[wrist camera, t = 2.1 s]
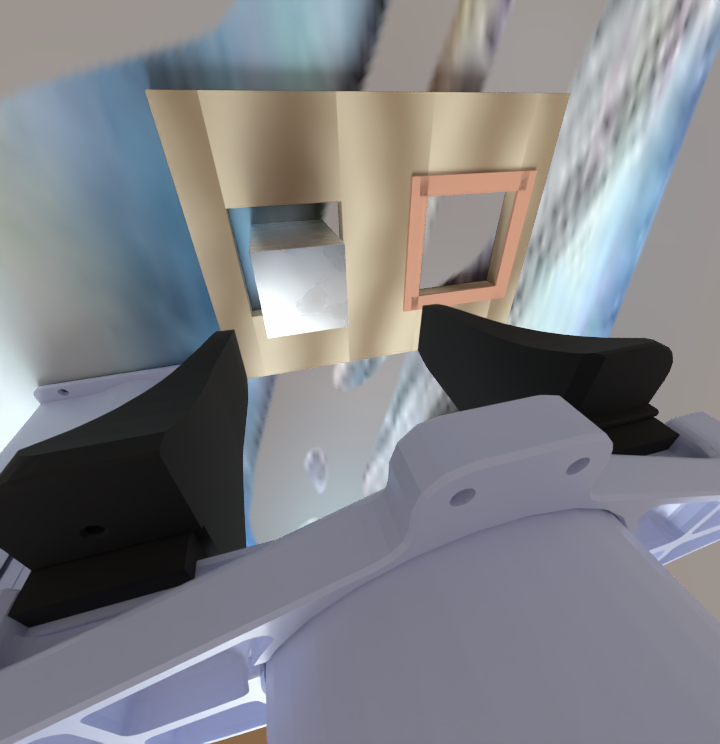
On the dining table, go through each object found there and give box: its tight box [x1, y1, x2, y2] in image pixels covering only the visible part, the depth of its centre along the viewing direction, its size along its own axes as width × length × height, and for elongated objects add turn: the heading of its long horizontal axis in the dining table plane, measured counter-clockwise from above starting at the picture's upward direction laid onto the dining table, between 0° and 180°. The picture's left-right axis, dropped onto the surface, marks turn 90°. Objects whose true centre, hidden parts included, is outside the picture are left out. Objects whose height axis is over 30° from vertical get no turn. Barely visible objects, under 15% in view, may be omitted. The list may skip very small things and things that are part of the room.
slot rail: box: [145, 90, 570, 379], centre depth 20 cm, size 21×15×1 cm
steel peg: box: [249, 219, 349, 338], centre depth 17 cm, size 4×4×6 cm
